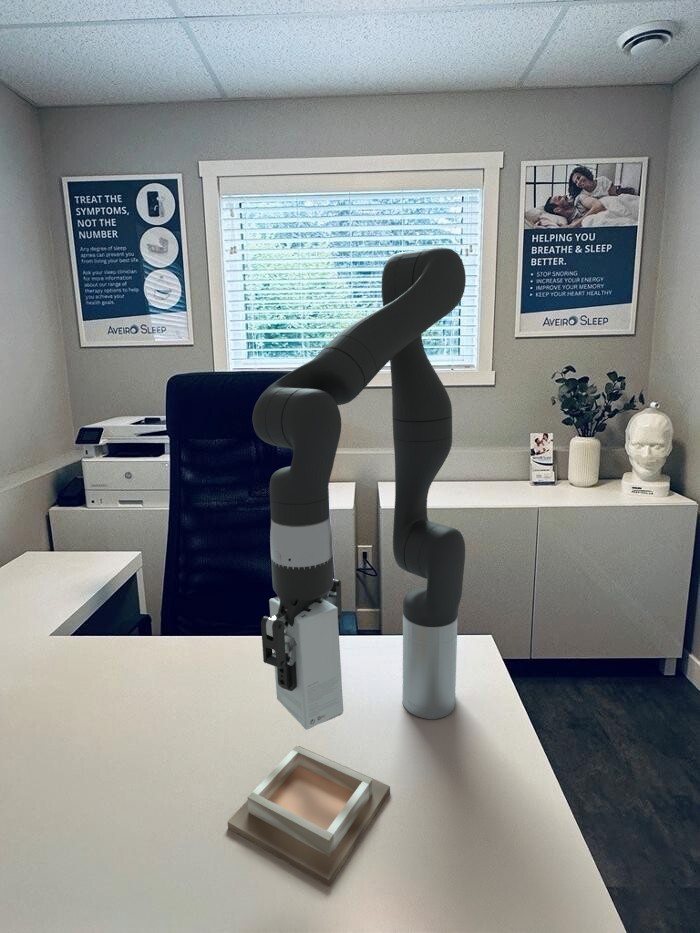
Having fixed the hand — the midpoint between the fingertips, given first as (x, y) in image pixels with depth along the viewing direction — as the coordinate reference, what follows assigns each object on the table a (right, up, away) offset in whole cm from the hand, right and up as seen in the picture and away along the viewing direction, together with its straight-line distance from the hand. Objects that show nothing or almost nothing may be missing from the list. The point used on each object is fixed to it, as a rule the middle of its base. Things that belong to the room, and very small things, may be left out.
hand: (306, 671), depth 71 cm
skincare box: (0, -5, +1) cm, 5 cm away
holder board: (0, -21, +5) cm, 21 cm away
